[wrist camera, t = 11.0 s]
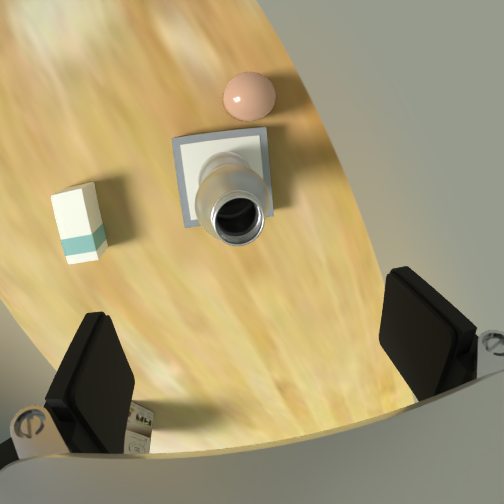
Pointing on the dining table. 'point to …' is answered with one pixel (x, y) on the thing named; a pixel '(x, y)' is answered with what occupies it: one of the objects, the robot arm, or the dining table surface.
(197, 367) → the dining table surface
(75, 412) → the robot arm
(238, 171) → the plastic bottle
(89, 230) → the lying carton
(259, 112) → the pink smooth rounded part
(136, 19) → the dining table surface
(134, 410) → the coffee box
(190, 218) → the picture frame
